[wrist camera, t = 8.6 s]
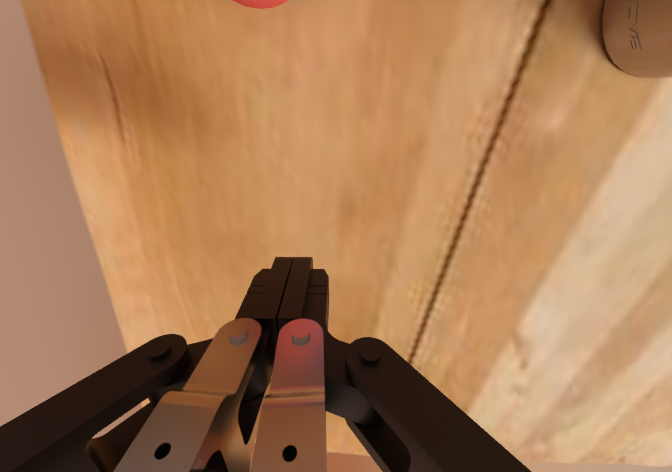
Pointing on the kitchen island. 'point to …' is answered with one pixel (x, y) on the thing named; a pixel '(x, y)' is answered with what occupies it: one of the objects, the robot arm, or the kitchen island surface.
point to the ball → (260, 3)
